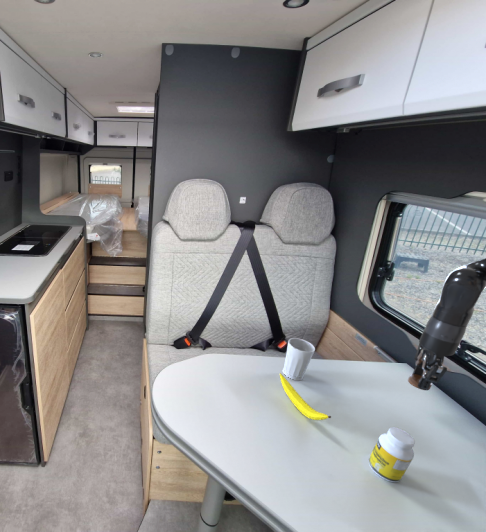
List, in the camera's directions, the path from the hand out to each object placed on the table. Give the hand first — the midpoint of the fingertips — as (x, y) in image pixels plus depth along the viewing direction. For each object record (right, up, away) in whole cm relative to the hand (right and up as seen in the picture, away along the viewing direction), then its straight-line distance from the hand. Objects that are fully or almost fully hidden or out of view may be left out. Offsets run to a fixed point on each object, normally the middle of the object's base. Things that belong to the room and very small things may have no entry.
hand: (419, 382), depth 92 cm
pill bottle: (-25, -15, -17) cm, 33 cm away
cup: (-30, -3, +14) cm, 34 cm away
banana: (-36, -8, 0) cm, 37 cm away
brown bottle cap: (0, -1, 0) cm, 1 cm away
